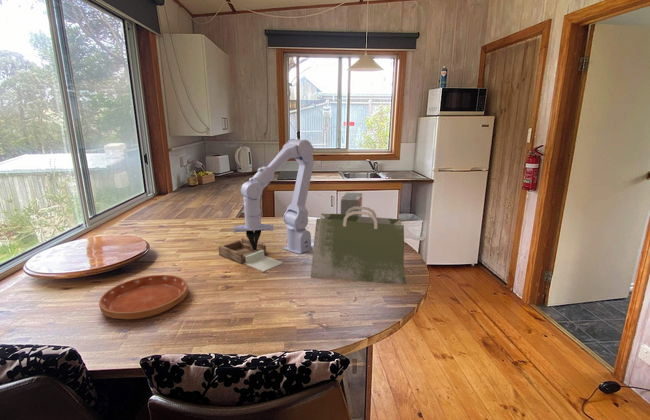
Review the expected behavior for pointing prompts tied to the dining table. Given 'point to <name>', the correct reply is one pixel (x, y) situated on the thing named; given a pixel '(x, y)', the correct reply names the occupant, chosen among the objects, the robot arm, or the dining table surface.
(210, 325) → the dining table surface
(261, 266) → the cover plate
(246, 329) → the dining table surface
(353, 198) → the hard drive box
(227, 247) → the groove box
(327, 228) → the grocery bag
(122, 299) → the saucer
